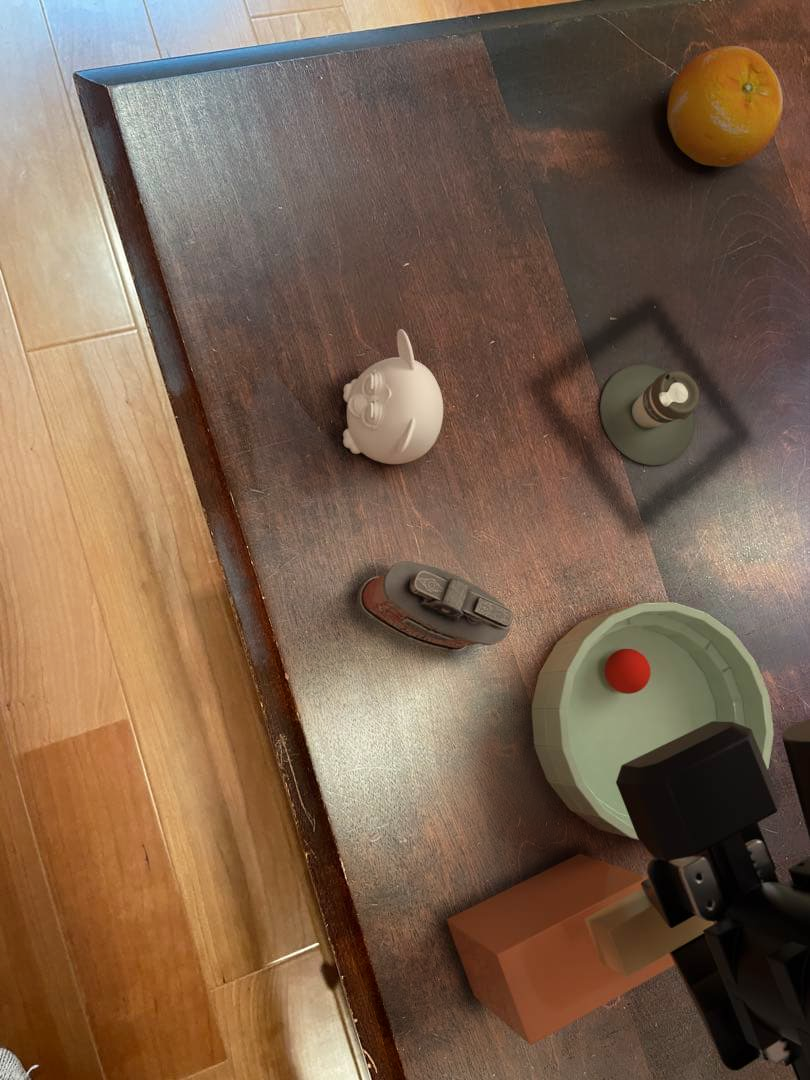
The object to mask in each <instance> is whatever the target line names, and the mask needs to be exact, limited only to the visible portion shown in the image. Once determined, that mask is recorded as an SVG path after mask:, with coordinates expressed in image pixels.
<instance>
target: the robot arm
mask: <svg viewBox="0 0 810 1080" xmlns="http://www.w3.org/2000/svg"><path fill="white" fill-rule="evenodd" d="M780 735H781V739H782V742H783V748H784V751H785V753H786V757H787V761H788V765H789V768H790V772H791V776H792V779H793V784H794V786H795V790H796V794H797V798H798V802H799V806H800V809H801V813H802V816H803V820H804V823H805V828H806V831H807V834H808V838H809V839H810V719H807V720H804V721H801V722H799V723H796V724H794V725H791V726H790V727H788V728H786V729H784V730H783V732H782V733H780ZM616 784H617V786H618V789H619V792H620V794H621V797H622V799H623V802H624V804H625V807H626V809H627V812H628V814H629V817H630V819H631V822H632V825H633V827H634V830H635V832H636V835H637V837H638V839H639V840H638V841H639V842H640V843H641V844H642V845H643V846H644V847H645V849H646V850H647V851H648V852H649V854H650V855H651V856H652V858H651V860H650V861H649V862H648V865H647V870H646V871H647V876H649V878H648V879H646V880H645V881H643V882H641V885H642V888H643V890H644V892H645V893H646V895H647V897H648V898H649V900H650V901H651V903H652V904H653V905H654V907H655V908H656V909H657V911H658V912H659V914H660V915H661V917H662V918H663V919H664V921H665V922H666V924H667V925H668V926H669V927H670V928H673V927H675V926H677V925H679V924H681V923H682V922H684V921H686V920H688V919H689V918H691V917H693V916H695V915H697V916H698V917H699V918H701V919H704V920H706V921H713V922H714V925H712V926H710V927H708V928H707V929H705V930H703V932H704V934H702V935H700V936H698V937H697V938H695V939H693V940H691V941H690V942H688V943H686V944H684V945H683V946H681V947H679V948H677V949H676V950H674V951H672V952H670V955H671V957H672V959H673V961H674V963H675V965H674V966H675V967H676V969H677V971H678V973H679V975H680V977H681V979H682V981H683V983H684V985H685V988H686V989H687V992H688V994H689V996H690V998H691V1000H692V1001H693V1004H694V1006H695V1008H696V1010H697V1012H698V1014H699V1016H700V1018H701V1020H702V1023H703V1025H704V1027H705V1029H706V1031H707V1033H708V1034H709V1035H708V1036H709V1037H710V1039H711V1041H712V1043H713V1045H714V1047H715V1049H716V1052H717V1054H718V1058H719V1059H720V1061H721V1063H722V1064H723V1066H725V1067H726V1068H727V1069H728V1070H730V1071H734V1072H735V1071H740V1070H742V1069H744V1068H745V1067H747V1066H749V1064H751V1063H754V1061H756V1060H757V1059H759V1058H761V1059H762V1060H764V1061H767V1062H768V1061H770V1062H772V1063H773V1064H776V1065H778V1064H780V1065H782V1066H784V1067H788V1066H790V1065H791V1067H792V1070H793V1073H794V1075H795V1078H796V1080H810V856H808V857H806V858H805V859H802V860H801V861H799V862H798V863H795V864H794V865H792V866H790V867H789V868H788V873H789V876H790V878H791V880H789V881H787V882H786V883H781V882H780V880H779V878H778V875H777V872H776V870H777V866H776V865H775V862H774V860H773V858H772V855H771V852H770V850H769V848H768V844H767V842H766V840H765V838H764V835H763V832H762V830H761V828H760V826H759V822H762V821H763V820H765V819H767V818H769V817H771V816H773V815H774V814H776V813H778V811H779V809H780V808H779V807H780V803H781V799H780V796H779V794H778V791H777V789H776V786H775V784H774V783H773V779H772V777H771V775H770V772H769V768H768V769H767V767H766V765H765V762H764V760H763V757H762V755H761V752H760V750H759V747H758V745H757V742H756V740H755V737H754V735H753V732H752V730H751V729H750V728H747V727H745V726H742V725H740V724H737V723H735V722H719V721H712V722H710V723H708V724H706V725H704V726H702V727H700V728H697V729H695V730H693V731H691V732H689V733H687V734H685V735H683V736H681V737H679V738H677V739H675V740H673V741H671V742H669V743H666V744H664V745H662V746H660V747H658V748H656V749H654V750H652V751H650V752H648V753H646V754H644V755H642V756H640V757H638V758H636V759H633V760H631V761H629V762H627V763H625V764H623V765H621V768H620V771H619V774H618V777H617V780H616Z"/></svg>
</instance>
